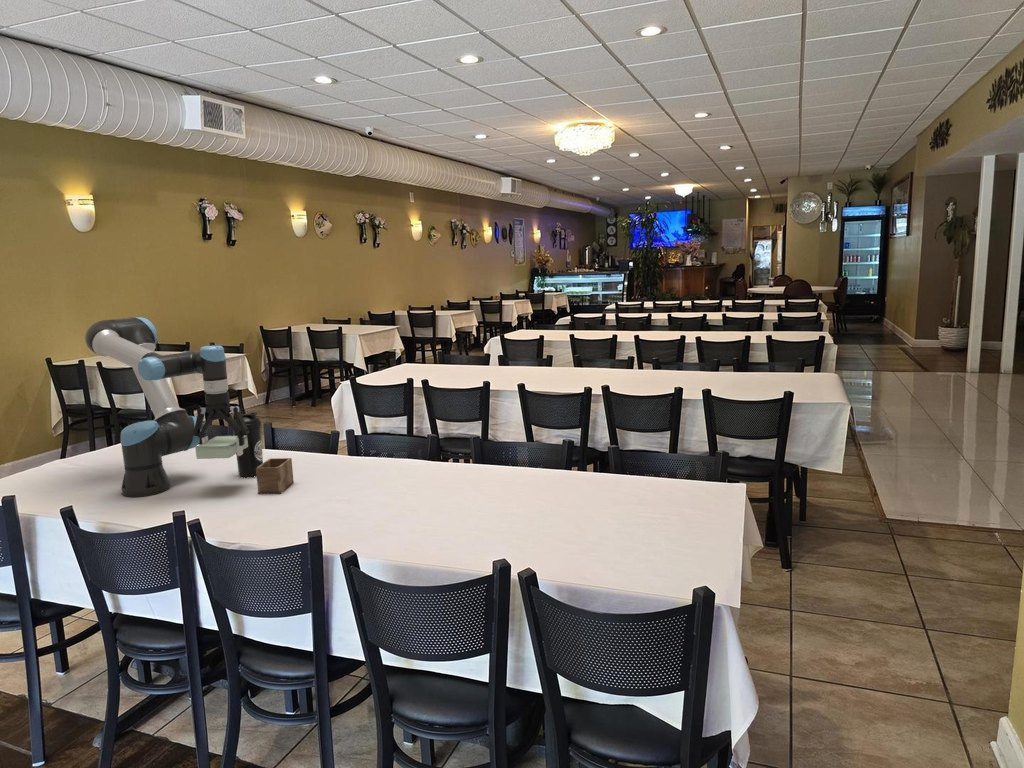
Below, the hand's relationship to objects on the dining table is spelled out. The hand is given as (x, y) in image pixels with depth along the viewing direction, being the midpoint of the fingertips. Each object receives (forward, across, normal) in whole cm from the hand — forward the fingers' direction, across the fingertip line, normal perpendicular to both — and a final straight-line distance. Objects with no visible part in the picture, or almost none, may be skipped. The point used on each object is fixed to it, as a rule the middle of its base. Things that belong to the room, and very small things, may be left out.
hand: (223, 455), depth 242 cm
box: (+12, +17, +1) cm, 21 cm away
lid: (-1, 0, 0) cm, 1 cm away
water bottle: (+12, +1, +18) cm, 22 cm away
